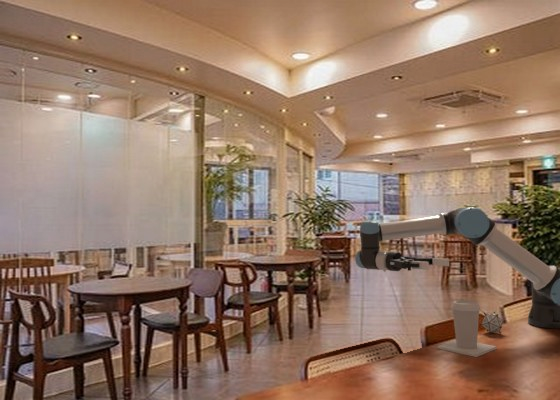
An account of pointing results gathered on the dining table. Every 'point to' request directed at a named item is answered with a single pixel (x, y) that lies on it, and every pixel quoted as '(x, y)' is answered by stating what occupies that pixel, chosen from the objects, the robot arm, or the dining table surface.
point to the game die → (492, 323)
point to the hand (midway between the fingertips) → (438, 264)
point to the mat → (474, 352)
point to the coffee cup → (466, 323)
